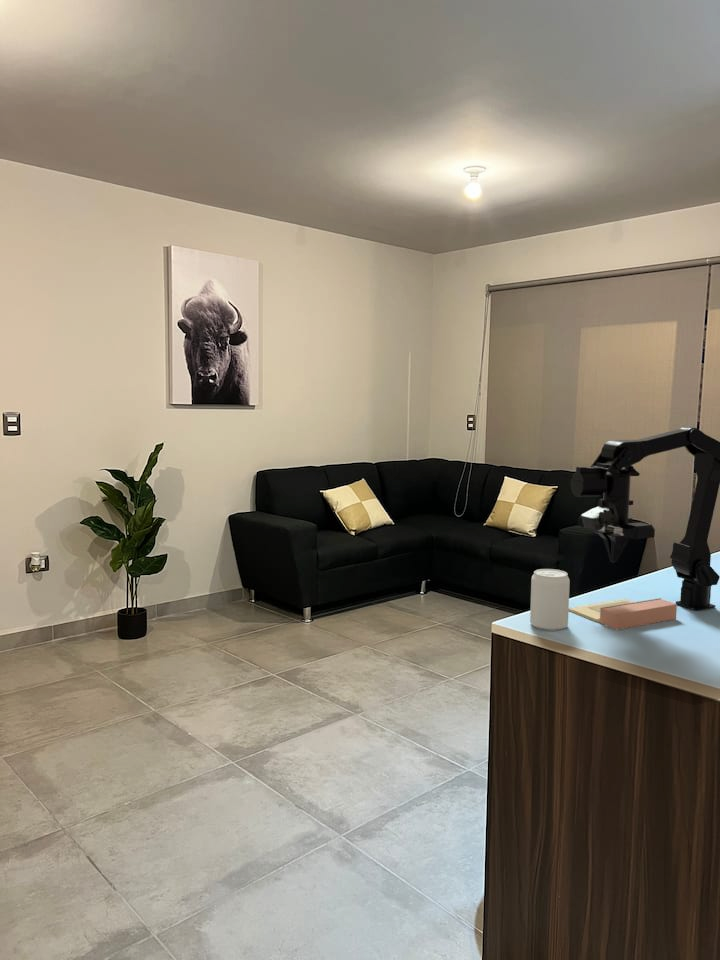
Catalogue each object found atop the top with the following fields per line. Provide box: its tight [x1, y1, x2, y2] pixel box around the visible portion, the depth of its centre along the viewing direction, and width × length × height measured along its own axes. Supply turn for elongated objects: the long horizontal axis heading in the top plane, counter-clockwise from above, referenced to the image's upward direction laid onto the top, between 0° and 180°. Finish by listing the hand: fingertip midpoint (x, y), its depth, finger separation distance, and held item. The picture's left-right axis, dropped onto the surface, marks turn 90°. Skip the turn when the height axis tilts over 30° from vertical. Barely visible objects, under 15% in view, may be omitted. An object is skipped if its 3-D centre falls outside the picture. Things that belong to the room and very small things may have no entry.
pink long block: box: [599, 597, 678, 630], centre depth 165 cm, size 18×5×4 cm, turn 115°
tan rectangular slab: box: [568, 598, 635, 623], centre depth 172 cm, size 18×10×1 cm, turn 115°
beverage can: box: [529, 568, 571, 631], centre depth 161 cm, size 8×8×12 cm
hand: (613, 561), depth 171 cm, fingers closed
